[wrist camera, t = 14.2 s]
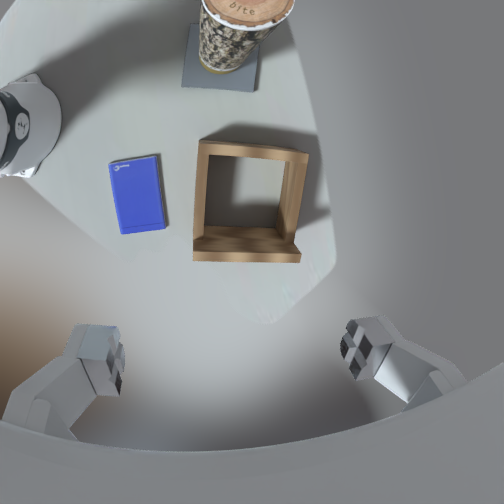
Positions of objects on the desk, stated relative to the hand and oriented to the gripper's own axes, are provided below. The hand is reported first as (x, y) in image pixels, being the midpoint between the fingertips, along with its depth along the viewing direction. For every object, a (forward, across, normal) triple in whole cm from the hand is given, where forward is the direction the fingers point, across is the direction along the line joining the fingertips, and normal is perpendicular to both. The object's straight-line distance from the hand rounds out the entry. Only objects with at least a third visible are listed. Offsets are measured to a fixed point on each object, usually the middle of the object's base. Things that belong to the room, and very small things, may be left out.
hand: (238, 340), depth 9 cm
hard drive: (+40, +11, +6) cm, 42 cm away
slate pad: (+39, -1, -17) cm, 43 cm away
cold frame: (+39, -6, +5) cm, 40 cm away
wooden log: (+38, -1, -17) cm, 42 cm away
